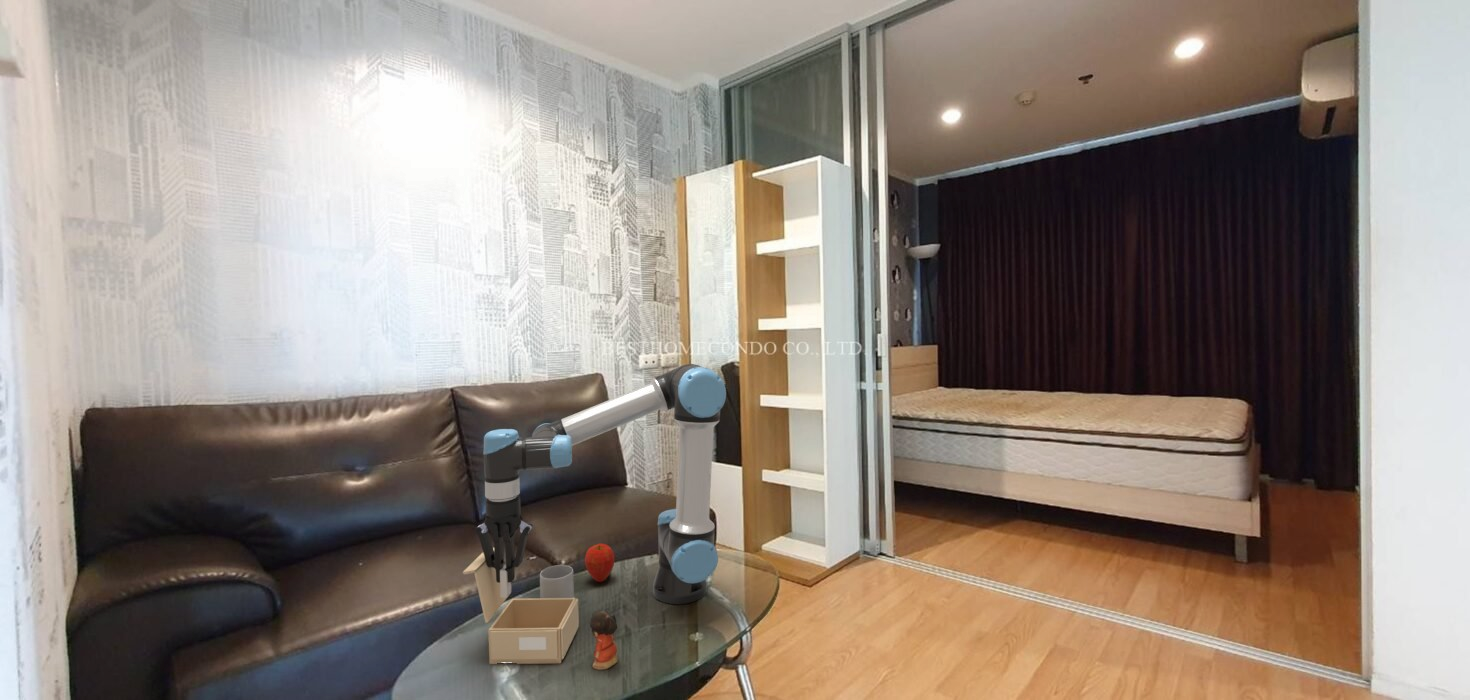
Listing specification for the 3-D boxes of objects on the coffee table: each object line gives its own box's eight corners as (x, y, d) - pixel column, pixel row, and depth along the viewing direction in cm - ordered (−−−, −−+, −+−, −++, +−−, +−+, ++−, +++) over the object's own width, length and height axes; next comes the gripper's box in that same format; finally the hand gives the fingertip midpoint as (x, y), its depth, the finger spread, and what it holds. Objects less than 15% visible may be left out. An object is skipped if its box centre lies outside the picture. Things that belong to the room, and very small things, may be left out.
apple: (587, 574, 175) (586, 539, 174) (616, 573, 176) (615, 538, 175) (583, 588, 166) (582, 551, 166) (613, 586, 167) (612, 550, 167)
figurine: (621, 655, 134) (620, 604, 133) (617, 670, 129) (616, 617, 128) (593, 655, 134) (592, 605, 133) (588, 670, 128) (587, 618, 128)
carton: (579, 628, 146) (578, 597, 145) (562, 664, 131) (561, 630, 130) (513, 628, 146) (512, 597, 145) (488, 665, 130) (487, 631, 130)
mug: (577, 616, 151) (576, 575, 151) (542, 623, 148) (541, 581, 147) (569, 595, 162) (568, 557, 162) (537, 602, 159) (536, 563, 158)
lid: (498, 546, 143) (486, 549, 143) (475, 569, 130) (462, 572, 130) (508, 595, 144) (496, 597, 144) (487, 622, 131) (474, 625, 131)
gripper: (536, 491, 139) (538, 587, 141) (481, 491, 139) (484, 587, 141) (525, 501, 132) (528, 602, 133) (467, 502, 132) (471, 603, 133)
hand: (506, 594), depth 137 cm, fingers closed
